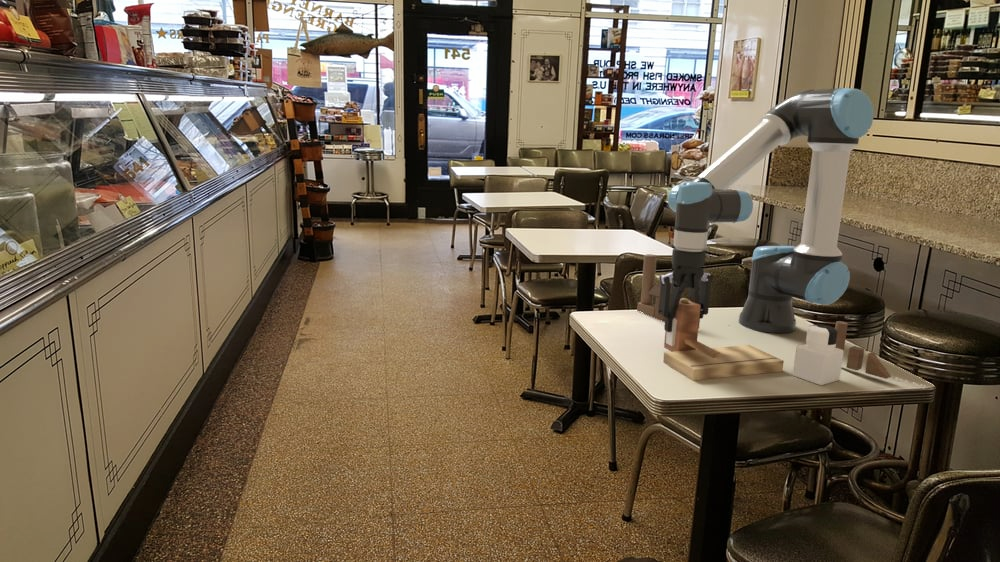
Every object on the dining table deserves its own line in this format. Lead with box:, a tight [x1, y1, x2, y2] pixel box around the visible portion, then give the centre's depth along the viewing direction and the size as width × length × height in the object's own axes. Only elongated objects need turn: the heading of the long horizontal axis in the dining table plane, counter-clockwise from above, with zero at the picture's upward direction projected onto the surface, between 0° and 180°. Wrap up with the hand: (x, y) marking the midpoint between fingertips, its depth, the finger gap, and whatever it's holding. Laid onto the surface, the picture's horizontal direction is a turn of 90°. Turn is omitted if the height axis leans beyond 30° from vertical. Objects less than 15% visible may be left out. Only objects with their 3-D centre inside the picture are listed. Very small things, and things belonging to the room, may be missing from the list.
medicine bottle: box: [792, 323, 845, 386], centre depth 152 cm, size 7×7×12 cm
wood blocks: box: [834, 320, 926, 390], centre depth 157 cm, size 25×3×10 cm, turn 38°
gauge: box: [663, 297, 721, 358], centre depth 159 cm, size 5×17×13 cm, turn 19°
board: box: [662, 344, 785, 381], centre depth 158 cm, size 24×12×3 cm, turn 109°
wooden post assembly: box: [636, 253, 674, 322], centre depth 197 cm, size 4×11×18 cm, turn 32°
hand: (680, 343), depth 165 cm, fingers closed on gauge, 5 cm apart
